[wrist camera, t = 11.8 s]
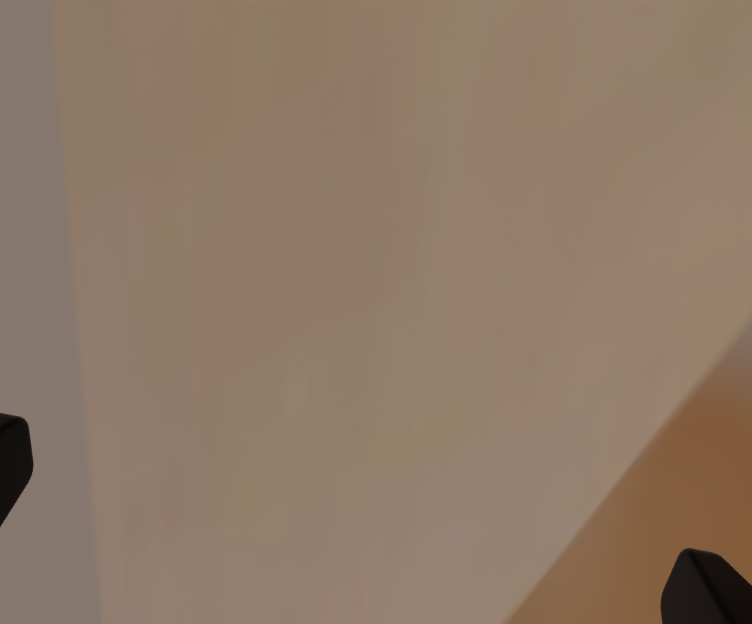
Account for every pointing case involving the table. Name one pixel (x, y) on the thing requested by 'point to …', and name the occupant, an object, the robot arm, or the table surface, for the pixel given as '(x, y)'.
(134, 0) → the table surface
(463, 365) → the table surface
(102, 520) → the table surface
